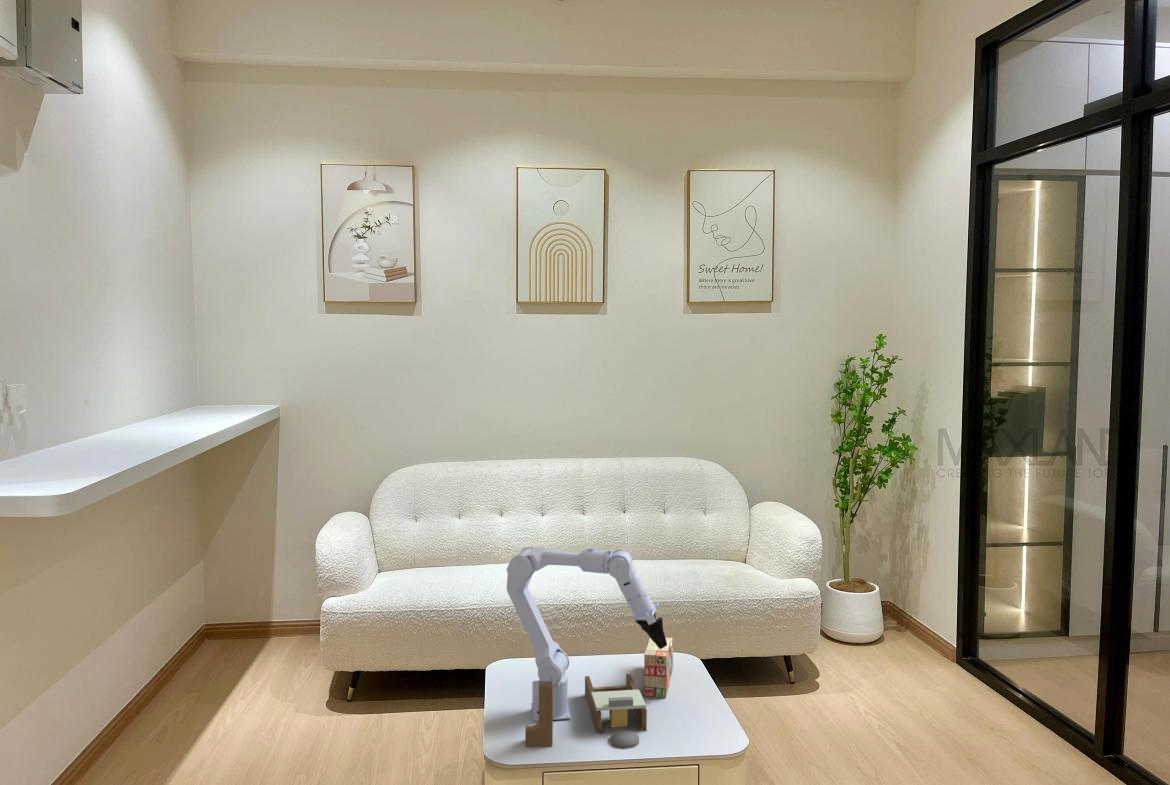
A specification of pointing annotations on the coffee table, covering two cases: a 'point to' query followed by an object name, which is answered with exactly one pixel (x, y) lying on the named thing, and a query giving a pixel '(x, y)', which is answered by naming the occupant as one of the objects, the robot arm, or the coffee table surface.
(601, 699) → the lid
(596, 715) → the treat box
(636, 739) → the coaster
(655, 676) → the stack of blocks
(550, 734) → the wooden block
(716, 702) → the coffee table surface
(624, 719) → the ochre block
